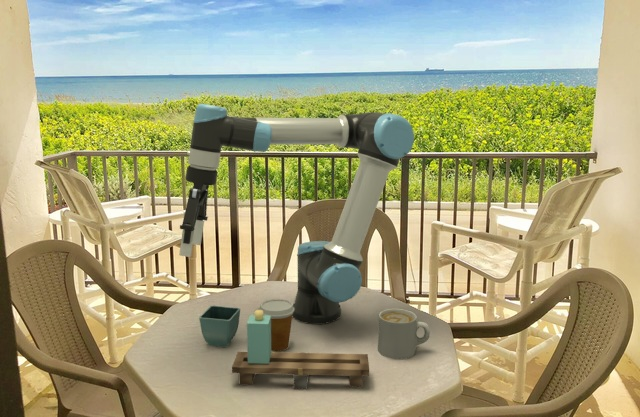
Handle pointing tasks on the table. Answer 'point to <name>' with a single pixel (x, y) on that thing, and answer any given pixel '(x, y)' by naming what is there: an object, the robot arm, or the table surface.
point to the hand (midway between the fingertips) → (190, 249)
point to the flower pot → (219, 325)
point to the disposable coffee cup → (279, 322)
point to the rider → (259, 338)
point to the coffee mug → (399, 333)
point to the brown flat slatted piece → (304, 367)
